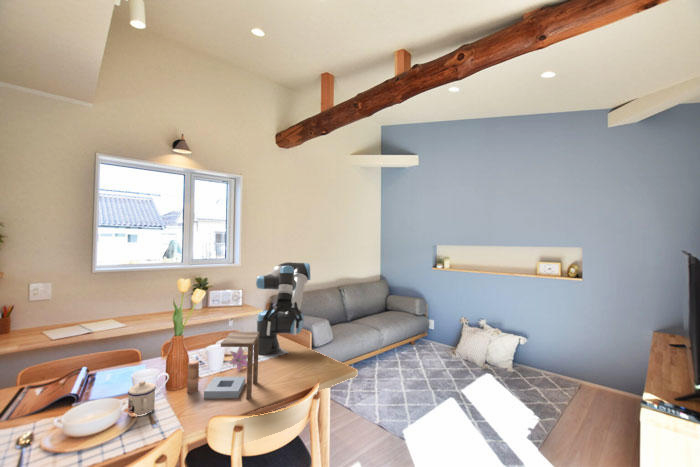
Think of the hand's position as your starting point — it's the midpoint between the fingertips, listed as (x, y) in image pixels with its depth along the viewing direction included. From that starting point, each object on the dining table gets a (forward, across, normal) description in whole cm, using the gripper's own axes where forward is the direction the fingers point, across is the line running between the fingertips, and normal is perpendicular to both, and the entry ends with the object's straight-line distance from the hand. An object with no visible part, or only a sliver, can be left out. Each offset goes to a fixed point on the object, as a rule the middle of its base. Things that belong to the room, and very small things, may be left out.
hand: (281, 335), depth 169 cm
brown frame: (+26, -14, -9) cm, 31 cm away
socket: (+26, -20, -10) cm, 34 cm away
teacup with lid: (+35, -44, -29) cm, 63 cm away
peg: (+26, -34, -12) cm, 44 cm away
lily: (+14, -23, +11) cm, 29 cm away
